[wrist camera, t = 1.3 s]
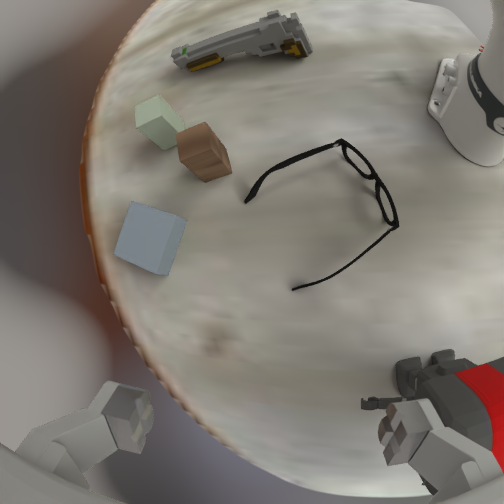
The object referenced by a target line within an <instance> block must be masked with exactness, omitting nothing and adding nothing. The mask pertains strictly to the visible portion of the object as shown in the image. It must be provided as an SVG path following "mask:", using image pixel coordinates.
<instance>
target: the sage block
mask: <svg viewBox="0 0 504 504" xmlns="http://www.w3.org/2000/svg"><path fill="white" fill-rule="evenodd" d="M135 120H136V128H137V129H138V130H139V131H140V132H142V133H143V134H144V135H145V136H147V137H148V138H149V139H150V140H152V141H153V142H154V143H155V144H157V145H158V146H159V147H160V148H161V149H163V150H166V149H169V148H171V147H173V146H175V145H177V141H176V135H175V134H177V133H179V132H181V131H184V130H185V128H184V122H183V120H182V119H181V118H180V116H179V115H178V114H177V113H176V112H175V111H174V110H173V109H172V108H171V107H170V106H169V104H168V103H167V102H166V101H165V100H164V99H163V98H162V97H161V96H160V95H157V96H155V97H153V98H151V99H149V100H147V101H145V102H143V103H141V104H139V105H137V106H135Z"/></svg>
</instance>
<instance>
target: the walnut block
mask: <svg viewBox="0 0 504 504" xmlns="http://www.w3.org/2000/svg"><path fill="white" fill-rule="evenodd" d="M175 135H176V141H177V147H178V153H179V159H180V162H181V163H183V164H184V165H185V166H186V167H187V168H189V169H190V170H191V171H192V172H193V173H195V174H196V175H197V176H198V177H199V178H201V179H202V180H203V181H204V182H205V183H206V182H208V181H211V180H214V179H217V178H220V177H222V176H225V175H228V174H231V173H232V170H231V166H230V162H229V158H228V154H227V150H226V148H225V147H224V145H223V144H222V143H221V141H220V140H219V139H218V137H217V136H216V135H215V133H214V132H213V131H212V130H211V128H210V127H209V126H208V124H207V123H206V122H203V123H201V124H198V125H196V126H193V127H191V128H188V129H186V130H184V131H181V132H179V133H177V134H175Z"/></svg>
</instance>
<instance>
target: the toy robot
mask: <svg viewBox="0 0 504 504" xmlns="http://www.w3.org/2000/svg"><path fill="white" fill-rule="evenodd" d="M396 375H397V384H398V389H399V391H400V394H401V395H402V396H403V397H404V398H403V399H402V397H397V398H380V399H378V398H376V397H369V398H368V401H365V400H363V398H362V399H361V409H364V410H374V409H378V408H379V409H387V407H388V405H389V404H390V403H396V402H405V401H412V400H419V399H426V398H427V399H429V400H430V402H431V403H432V405H433V407H434V409H435V410H436V412H437V414H438V416H439V417H440V419H441V421H442V423H443V425H444V427H449V428H451V429H453V430H454V431H456V432H458V433H460V434H461V435H463V436H465V437H466V438H468V439H470V440H472V441H473V442H475V443H477V444H479V445H480V446H482V447H484V448H486V449H487V450H489V451H491V452H492V453H493V455H494V457H495V459H496V460H497V462H498V464H499V466H500V468H501V469H502V471H503V473H504V357H502V358H499V359H497V360H494V361H491V362H488V363H485V364H482V365H479V366H478V365H476V364H474V363H472V362H471V361H469V360H467V359H466V358H463V359H456V360H455V354H454V350H452V349H449V350H443V351H440V352H436V353H433V355H432V366H429V367H426V368H424V369H422V365H421V360H420V357H414V358H409V359H405V360H401V361H399V362H397V364H396ZM419 475H420V474H419ZM420 477H421V479H422V481H423V483H422V485H425V486H426V487H427V489H428V490H429V492H430V493H431V494H432V495H435V494H436V493H437V492H438V490H437V489H436V488H435V487H433V486H432V485H431V484H430V483H429V482H428V481H427V480H426V479H424V478H423V477H422V476H421V475H420Z"/></svg>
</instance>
